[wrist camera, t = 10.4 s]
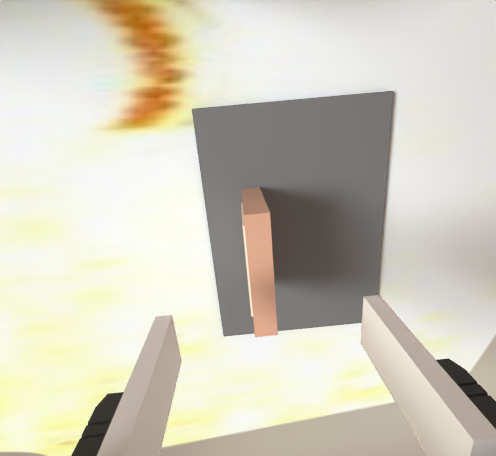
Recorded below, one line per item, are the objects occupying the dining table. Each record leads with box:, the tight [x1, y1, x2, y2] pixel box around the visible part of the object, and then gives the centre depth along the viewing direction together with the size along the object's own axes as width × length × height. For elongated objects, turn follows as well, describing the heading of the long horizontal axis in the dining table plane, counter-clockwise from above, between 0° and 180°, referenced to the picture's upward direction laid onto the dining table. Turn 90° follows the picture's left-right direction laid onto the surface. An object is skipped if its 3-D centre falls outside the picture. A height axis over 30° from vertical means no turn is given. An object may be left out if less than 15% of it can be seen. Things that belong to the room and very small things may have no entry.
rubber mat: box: [192, 91, 393, 336], centre depth 26 cm, size 22×16×1 cm
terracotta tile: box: [241, 187, 278, 337], centre depth 22 cm, size 9×2×8 cm, turn 5°
